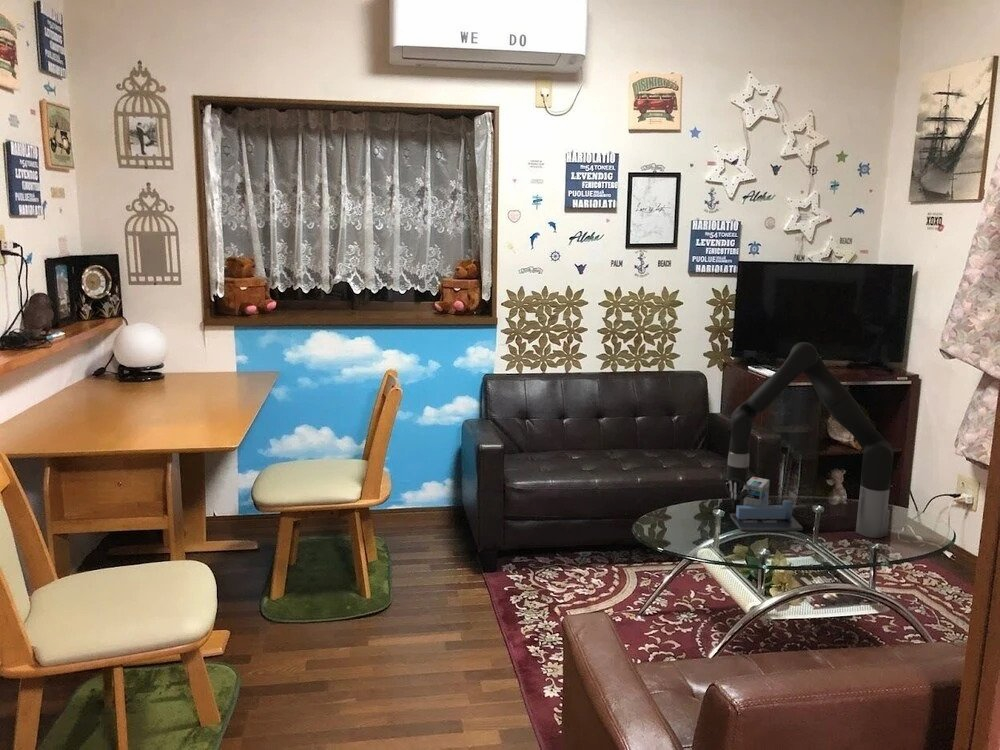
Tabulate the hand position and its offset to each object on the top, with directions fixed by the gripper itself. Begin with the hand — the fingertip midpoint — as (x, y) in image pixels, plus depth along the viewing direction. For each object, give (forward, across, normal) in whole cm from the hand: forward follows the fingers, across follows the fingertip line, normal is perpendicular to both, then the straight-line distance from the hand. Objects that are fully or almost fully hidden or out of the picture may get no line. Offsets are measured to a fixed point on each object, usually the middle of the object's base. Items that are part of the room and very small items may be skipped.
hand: (735, 507), depth 295 cm
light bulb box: (+3, -2, +12) cm, 12 cm away
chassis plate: (+3, +11, +4) cm, 12 cm away
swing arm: (+1, +10, +5) cm, 11 cm away
